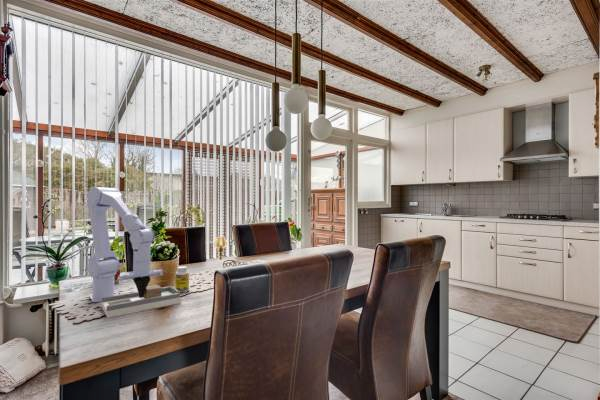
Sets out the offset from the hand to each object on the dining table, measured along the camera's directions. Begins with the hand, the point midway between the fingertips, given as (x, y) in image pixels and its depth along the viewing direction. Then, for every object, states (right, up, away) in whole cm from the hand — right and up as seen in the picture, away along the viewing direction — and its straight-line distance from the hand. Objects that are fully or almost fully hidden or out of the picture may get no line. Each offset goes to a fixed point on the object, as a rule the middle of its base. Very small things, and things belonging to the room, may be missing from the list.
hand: (141, 297), depth 114 cm
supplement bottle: (+8, -3, +19) cm, 21 cm away
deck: (0, -3, 0) cm, 3 cm away
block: (+3, -1, +3) cm, 4 cm away
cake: (-31, -3, +29) cm, 42 cm away
